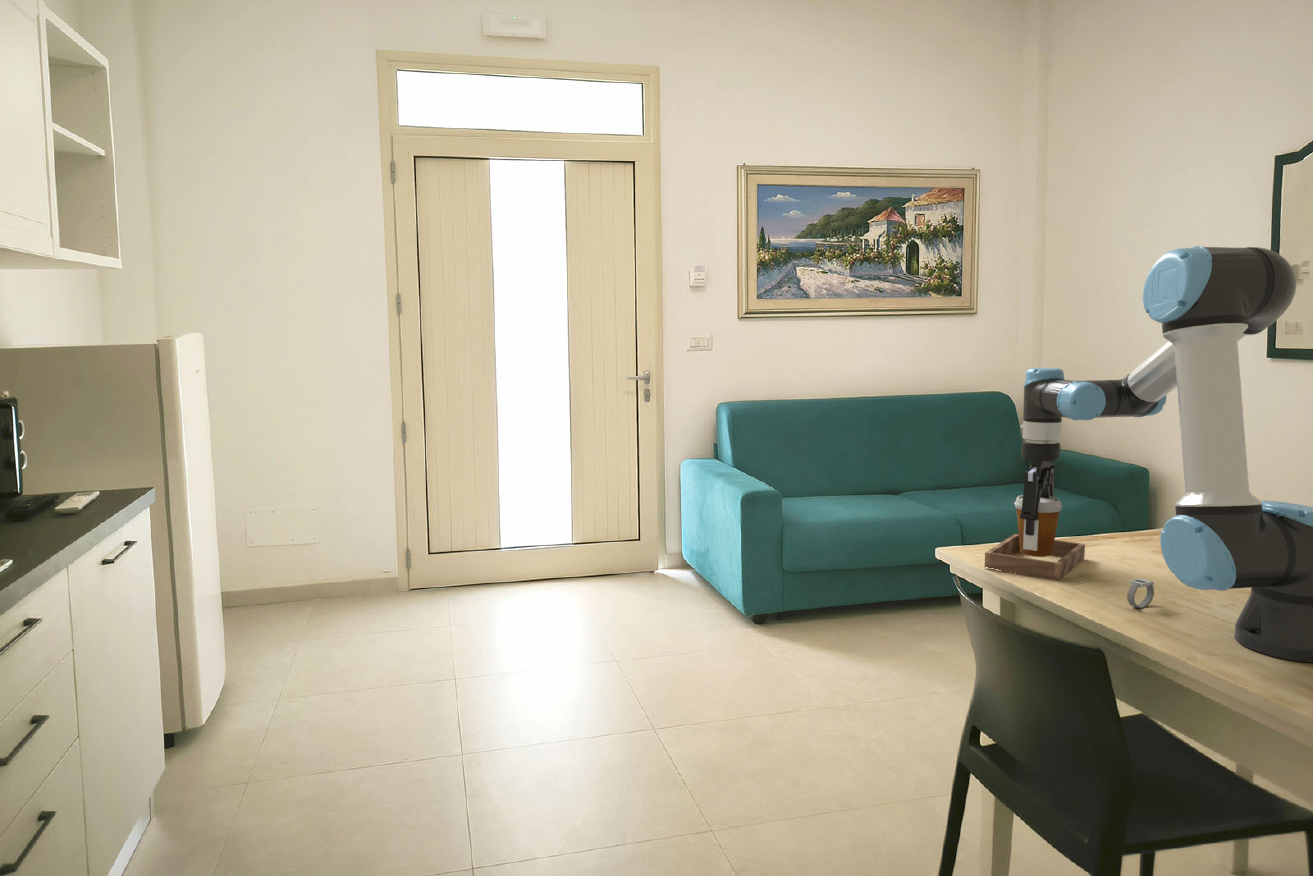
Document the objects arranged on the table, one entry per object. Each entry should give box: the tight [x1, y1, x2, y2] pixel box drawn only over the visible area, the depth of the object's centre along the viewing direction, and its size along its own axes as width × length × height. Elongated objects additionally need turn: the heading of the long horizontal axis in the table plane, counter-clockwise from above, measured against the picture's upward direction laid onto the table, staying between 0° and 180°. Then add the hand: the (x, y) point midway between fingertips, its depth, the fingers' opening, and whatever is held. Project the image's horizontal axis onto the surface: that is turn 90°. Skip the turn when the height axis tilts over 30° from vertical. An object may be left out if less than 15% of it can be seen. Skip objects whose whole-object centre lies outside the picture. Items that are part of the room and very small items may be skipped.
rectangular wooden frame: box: [984, 533, 1086, 582], centre depth 191 cm, size 20×15×4 cm
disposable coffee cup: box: [1013, 494, 1063, 558], centre depth 190 cm, size 10×10×12 cm
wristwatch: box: [1126, 577, 1155, 609], centre depth 162 cm, size 6×3×5 cm, turn 119°
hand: (1036, 545), depth 191 cm, fingers closed on disposable coffee cup, 8 cm apart
